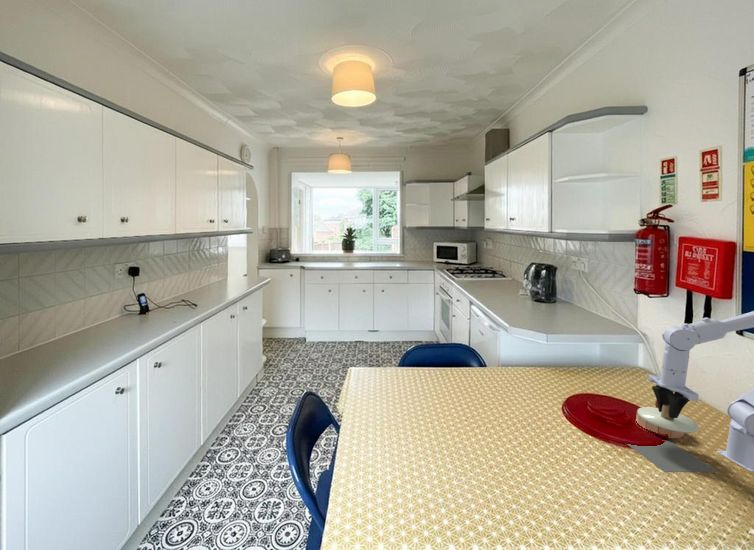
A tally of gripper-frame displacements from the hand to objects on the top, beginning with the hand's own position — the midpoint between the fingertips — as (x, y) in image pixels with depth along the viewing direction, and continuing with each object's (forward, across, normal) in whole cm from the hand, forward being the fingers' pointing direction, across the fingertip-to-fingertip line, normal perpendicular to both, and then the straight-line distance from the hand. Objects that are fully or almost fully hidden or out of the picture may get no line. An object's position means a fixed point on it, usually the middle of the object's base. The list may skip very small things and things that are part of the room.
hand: (667, 414), depth 111 cm
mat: (+9, +6, -4) cm, 12 cm away
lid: (+2, 0, 0) cm, 2 cm away
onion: (+10, -18, +17) cm, 27 cm away
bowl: (+9, -9, +7) cm, 15 cm away
